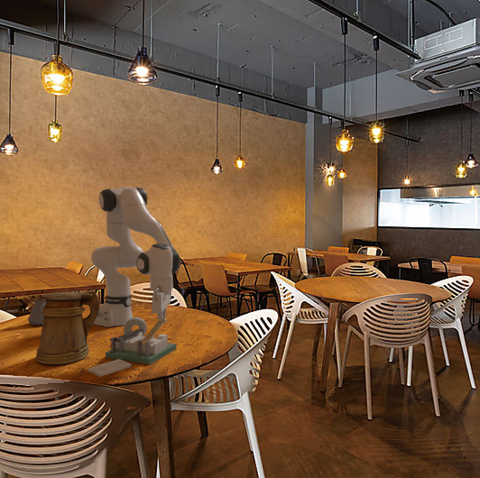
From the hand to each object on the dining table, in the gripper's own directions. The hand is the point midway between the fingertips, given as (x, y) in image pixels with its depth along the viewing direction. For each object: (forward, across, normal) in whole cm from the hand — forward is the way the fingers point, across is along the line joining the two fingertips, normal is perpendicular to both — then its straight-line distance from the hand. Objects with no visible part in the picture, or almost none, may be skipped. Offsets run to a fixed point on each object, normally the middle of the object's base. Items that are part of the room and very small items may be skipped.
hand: (162, 319), depth 163 cm
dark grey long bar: (+8, 0, +13) cm, 15 cm away
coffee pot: (+13, +44, +65) cm, 80 cm away
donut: (+13, +16, +15) cm, 25 cm away
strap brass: (+5, -4, +2) cm, 7 cm away
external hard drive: (+14, -18, +15) cm, 28 cm away
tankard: (+13, -6, +35) cm, 38 cm away
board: (+13, -2, +8) cm, 15 cm away
